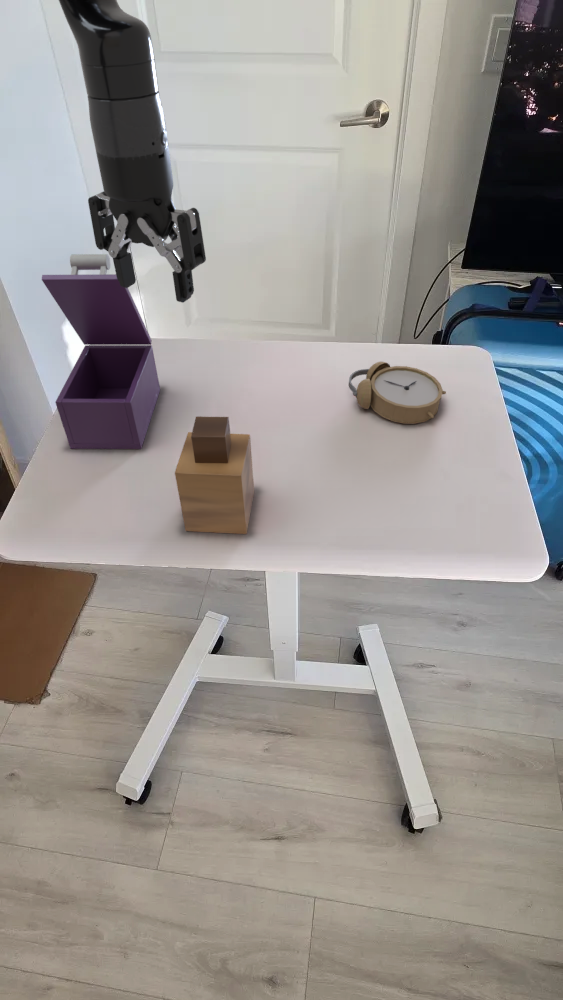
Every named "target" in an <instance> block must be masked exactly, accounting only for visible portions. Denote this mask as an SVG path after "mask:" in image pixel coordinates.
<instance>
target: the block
mask: <svg viewBox="0 0 563 1000" xmlns="http://www.w3.org/2000/svg"><path fill="white" fill-rule="evenodd" d="M191 432H192V435H191V439H192V446H193V452H194V459H195V463H228V460H229V454H230V448H231V435H230V434H231V426H230V418H229V416H195V420H194V423H193V427H192V431H191Z"/></svg>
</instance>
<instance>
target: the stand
mask: <svg viewBox="0 0 563 1000" xmlns="http://www.w3.org/2000/svg"><path fill="white" fill-rule="evenodd" d="M191 435H192V431H187V434H186V437H185V441H184V444H183V446H182V450H181V453H180V456H179V459H178V462H177V464H176V468H175V471H174V476H175V481H176V487H177V492H178V497H179V505H180V508H181V514H182V519H183V525H184V530H185V532H198V533H200V532H201V533H216V534H235V535H237V534H238V535H247V533H248V529H249V523H250V519H251V512H252V507H253V501H254V496H255V483H254V469H253V456H252V443H251V434H247V433H230V435H231V448H230V454H229V460H228V463H195V459H194V452H193V446H192V439H191Z"/></svg>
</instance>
